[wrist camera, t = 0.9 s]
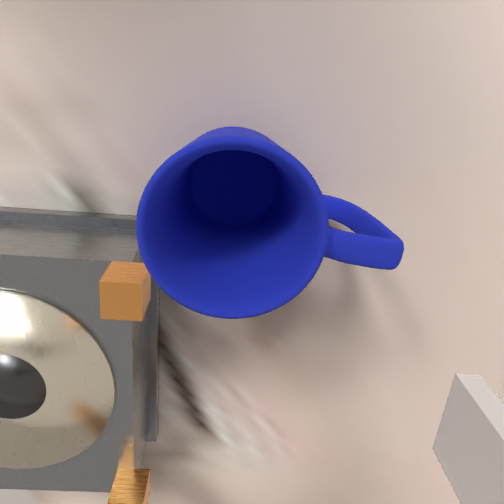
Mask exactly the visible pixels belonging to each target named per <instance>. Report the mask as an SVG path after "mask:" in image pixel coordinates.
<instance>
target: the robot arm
mask: <svg viewBox="0 0 504 504" xmlns="http://www.w3.org/2000/svg"><path fill="white" fill-rule="evenodd" d="M433 450H434V452H435V454H436V456H437V458H438V460H439V462H440V464H441V466H442V468H443V470H444V472H445V473H446V475H447V477H448V479H449V481H450V483H451V485H452V487H453V489H454V491H455V493H456V495H457V497H458V499H459V501H460V503H461V504H504V403H503V402H502V401H501V400H500V398H499V397H498V396H497V395H496V393H495V392H494V391H493V390H492V388H491V387H490V386H489V384H488V383H487V382H486V381H485V379H484V378H483V377H482V376H481V375H473V374H460V373H455V376H454V379H453V383H452V386H451V389H450V392H449V396H448V399H447V402H446V406H445V409H444V412H443V415H442V419H441V422H440V425H439V429H438V432H437V435H436V438H435V442H434V445H433Z"/></svg>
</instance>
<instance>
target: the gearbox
mask: <svg viewBox="0 0 504 504" xmlns="http://www.w3.org/2000/svg"><path fill="white" fill-rule="evenodd" d="M136 220H137V216H130V215H115V214H100V213H85V212H70V211H55V210H40V209H25V208H9V207H0V489H27V490H59V491H90V492H111V493H110V496H109V500H108V504H148V501H149V496H150V469H140V466H141V462H142V457H143V453H144V449H145V445H146V441H156V439H157V434H158V355H159V286H158V284H157V283H156V282H155V281H154V279H153V278H152V277H151V275H150V273H149V272H148V270H147V268H146V266H145V264H144V262H143V259H142V257H141V254H140V251H139V247H138V242H137V234H136Z"/></svg>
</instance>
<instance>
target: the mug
mask: <svg viewBox="0 0 504 504" xmlns="http://www.w3.org/2000/svg"><path fill="white" fill-rule="evenodd" d="M328 218H329V219H332V220H335V221H337V222H339V223H341V224H343V225H345V226H347V227H348V228H350V229H351V230H352V231H354V232H355V233H351V232H345V231H341V230H337V229H334V228H332V227H330V226H329V223H328ZM136 234H137V242H138V247H139V251H140V254H141V257H142V259H143V262H144V264H145V266H146V268H147V270H148V272H149V273H150V275H151V277H152V278H153V279H154V281H155V282H156V283H157V284H158V286H159V287H160V288H161V289H162V290H163V291H164V292H165V293H166V294H167V295H169V296H170V297H171V298H172V299H174V300H175V301H176V302H178V303H180V304H181V305H183V306H185V307H187V308H188V309H191V310H193V311H195V312H198V313H201V314H204V315H207V316H212V317H217V318H226V319H238V318H248V317H254V316H258V315H261V314H265V313H268V312H270V311H272V310H275V309H277V308H279V307H281V306H282V305H284V304H286V303H287V302H289V301H290V300H292V299H293V298H294V297H295V296H297V295H298V294H299V293H300V292H301V291H302V290H303V289H304V288H305V287H306V286H307V285H308V283H309V282H310V281H311V280H312V278H313V277H314V275H315V274H316V272H317V270H318V268H319V266H320V264H321V262H322V260H323V257H328V258H330V259H334V260H337V261H340V262H344V263H348V264H353V265H359V266H364V267H370V268H378V269H386V270H392V269H395V268H396V267H397V266H398V265H399V263H400V261H401V258H402V255H403V251H404V245H403V242H402V240H401V239H400V238H399V237H398V236H397V235H395V234H394V233H393V232H392V231H391V230H389V229H388V228H387V227H386V226H385V225H384V224H382V223H381V222H380V221H379V220H377V219H376V218H375V217H373V216H372V215H370V214H369V213H368V212H366V211H365V210H363V209H361V208H360V207H358V206H356V205H354V204H352V203H350V202H347V201H345V200H342V199H339V198H336V197H332V196H327V195H323V194H322V193H321V191H320V188H319V187H318V185H317V183H316V181H315V179H314V178H313V177H312V175H311V174H310V173H309V171H308V170H307V169H306V168H305V167H304V166H303V165H302V164H301V163H300V162H299V161H298V160H297V159H296V158H295V157H293V156H292V155H291V154H290V153H288V152H287V151H285V150H284V149H283V148H281V147H280V146H279V145H277V144H276V143H274V142H273V141H272V140H270V139H269V138H268V137H266V136H264V135H263V134H261V133H259V132H256V131H254V130H251V129H247V128H242V127H224V128H219V129H215V130H212V131H210V132H207V133H205V134H203V135H202V136H200V137H199V138H197V139H196V140H194V141H193V142H191V143H190V144H188V145H187V146H185V147H184V148H182V149H181V150H179V151H178V152H176V153H175V154H174V155H172V156H171V157H170V158H168V159H167V160H166V161H165V162H164V163H163V164H162V165H161V166H160V167H159V168H158V169H157V171H156V172H155V173H154V174H153V176H152V177H151V179H150V180H149V182H148V184H147V185H146V187H145V190H144V192H143V194H142V197H141V200H140V203H139V207H138V212H137V220H136Z"/></svg>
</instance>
